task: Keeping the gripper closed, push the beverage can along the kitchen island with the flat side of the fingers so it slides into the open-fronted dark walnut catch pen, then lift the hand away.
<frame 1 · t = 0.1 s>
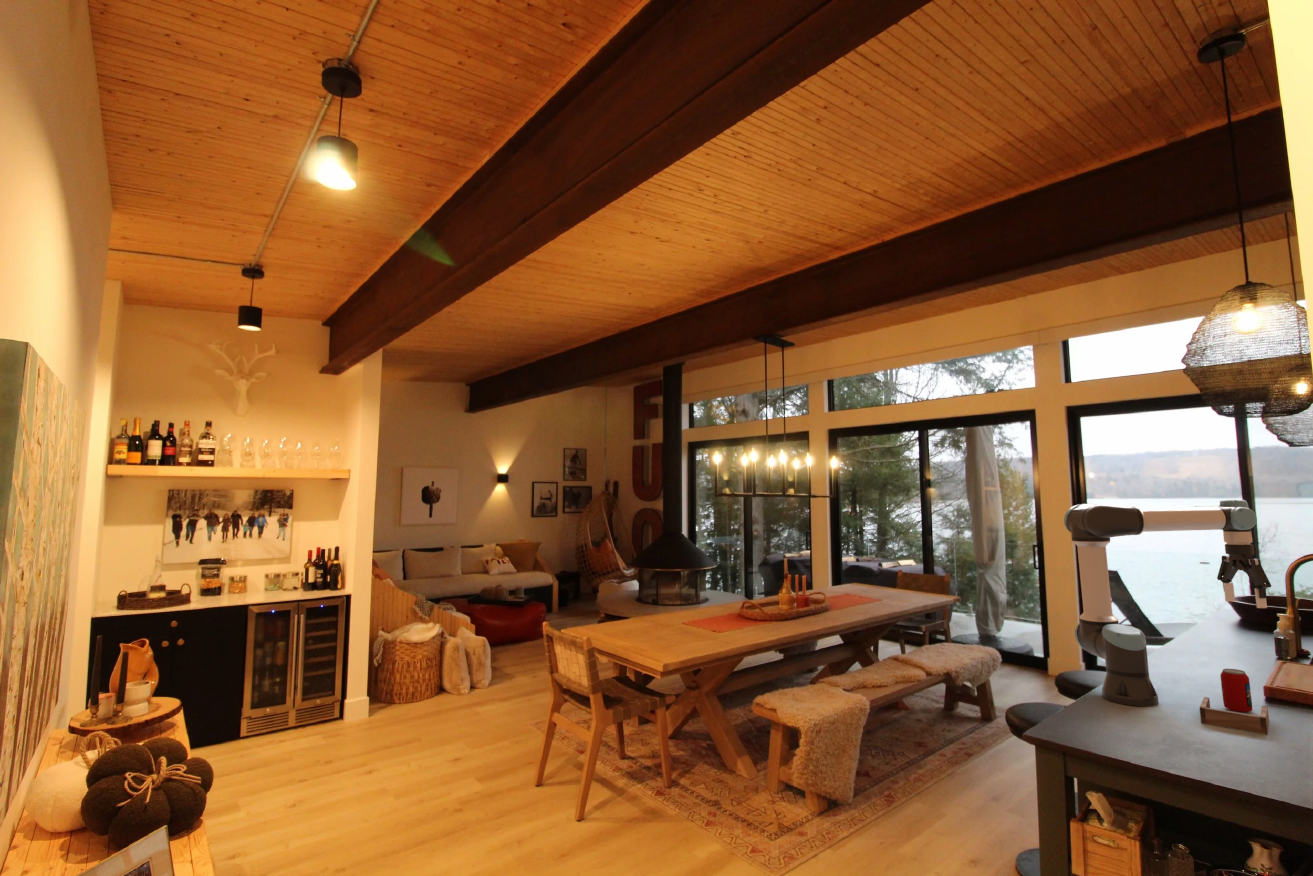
hand: (1245, 604, 225), 28 cm above the kitchen island, fingers open, 13 cm apart
walnut catch pen: (1235, 722, 191), on the kitchen island
beverage can: (1238, 711, 200), on the kitchen island
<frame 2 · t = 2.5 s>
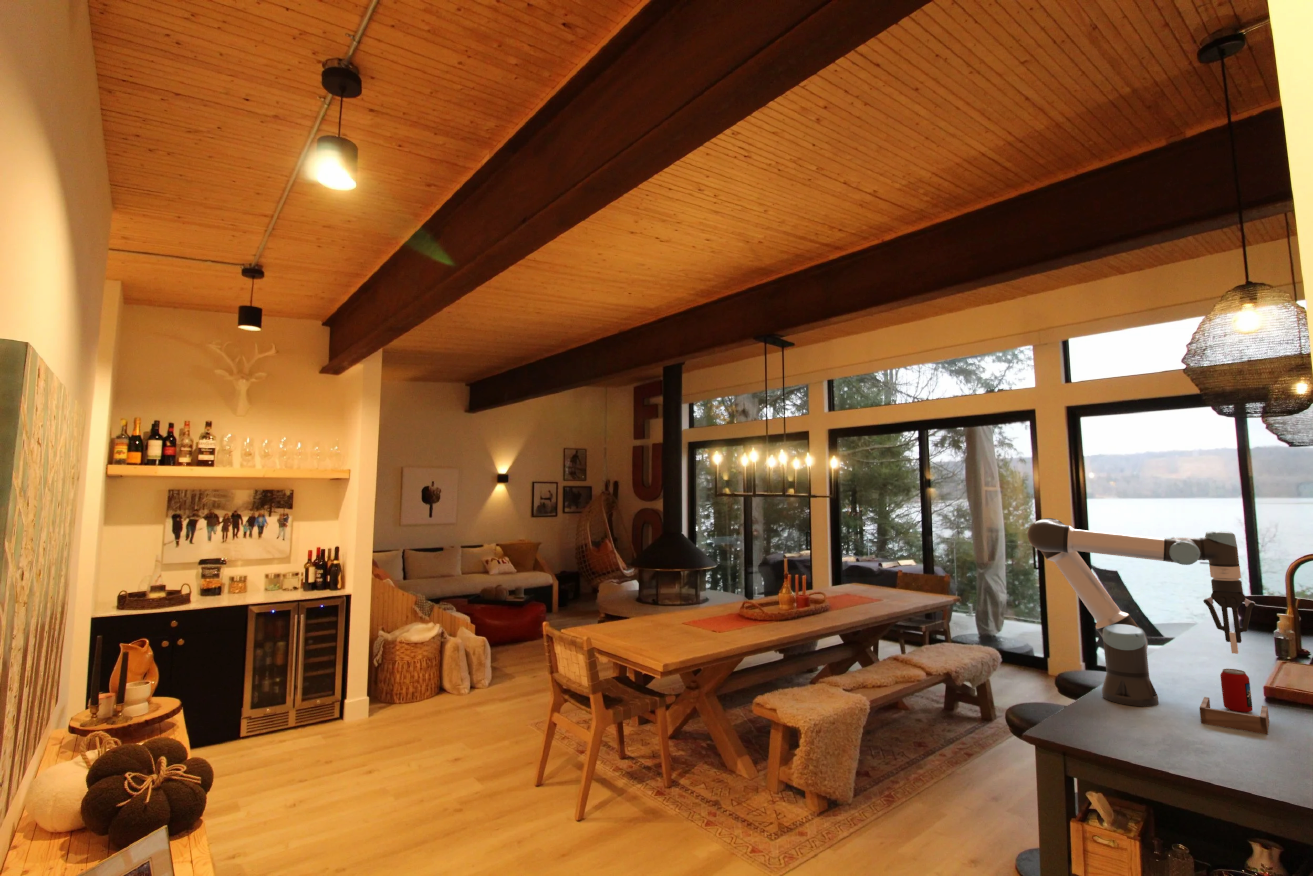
hand: (1235, 652, 208), 16 cm above the kitchen island, fingers closed
nothing on the kitchen island moved.
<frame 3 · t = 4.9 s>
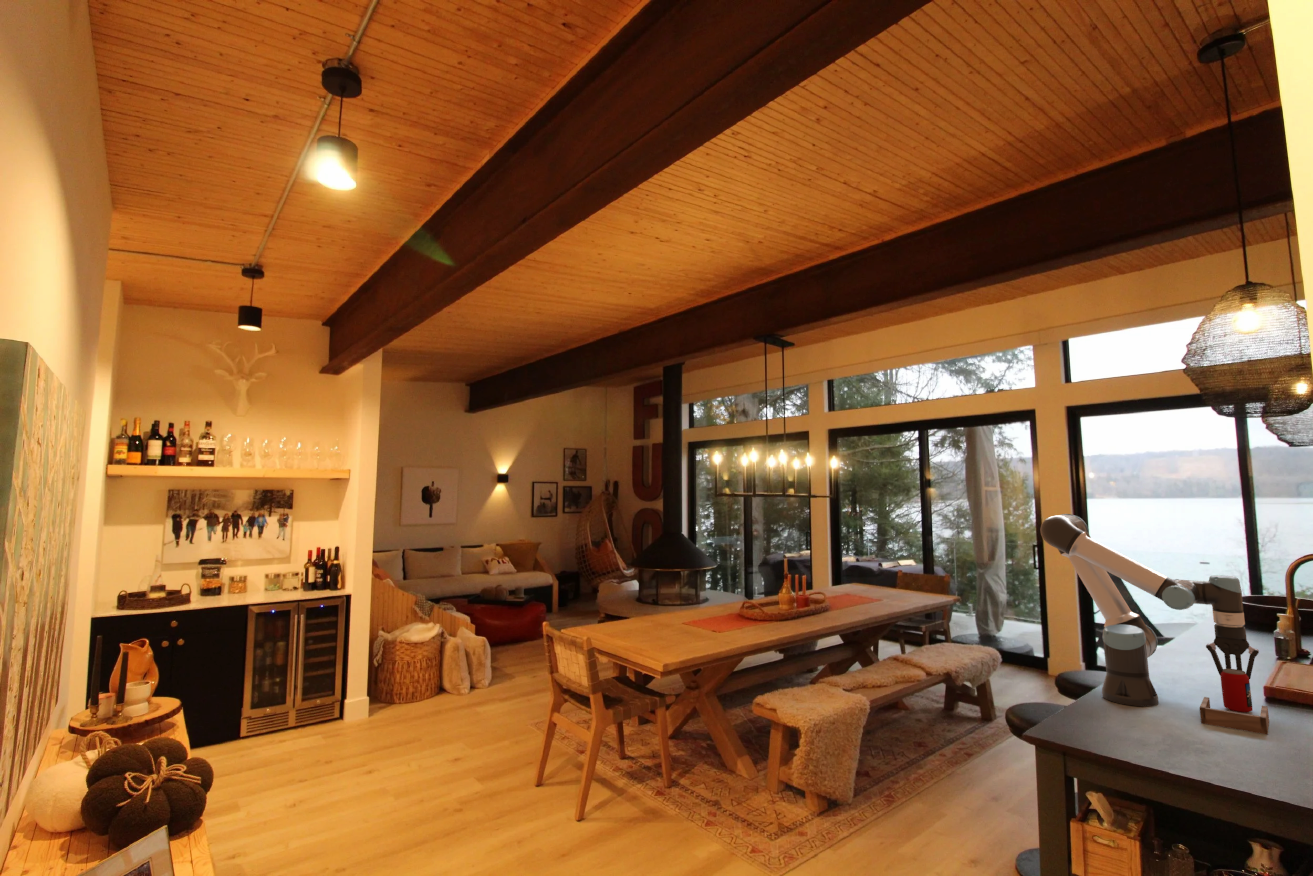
hand: (1237, 700, 204), 2 cm above the kitchen island, fingers closed
beverage can: (1238, 711, 200), on the kitchen island, touching gripper
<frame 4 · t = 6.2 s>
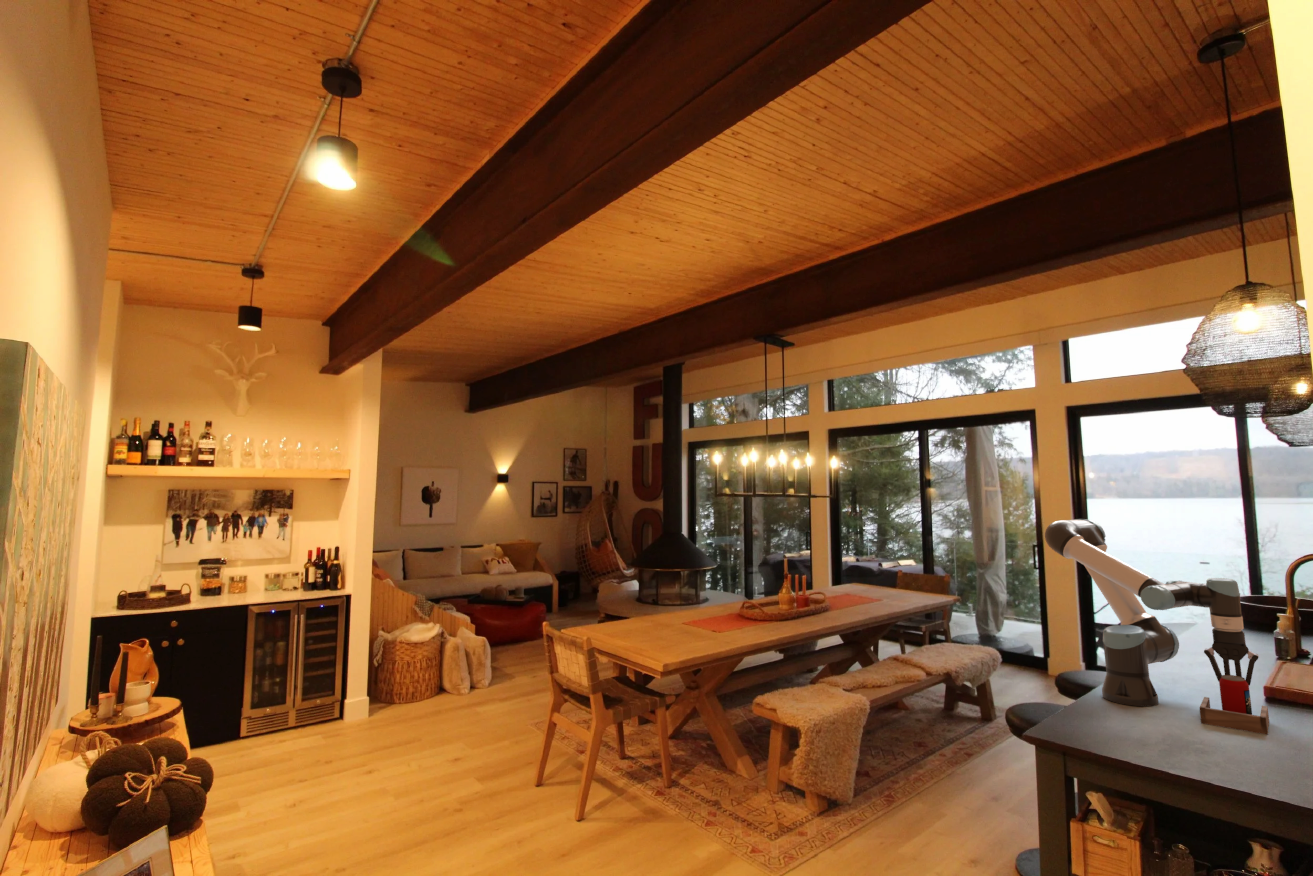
hand: (1237, 707, 197), 2 cm above the kitchen island, fingers closed
beverage can: (1237, 718, 194), on the kitchen island, touching gripper
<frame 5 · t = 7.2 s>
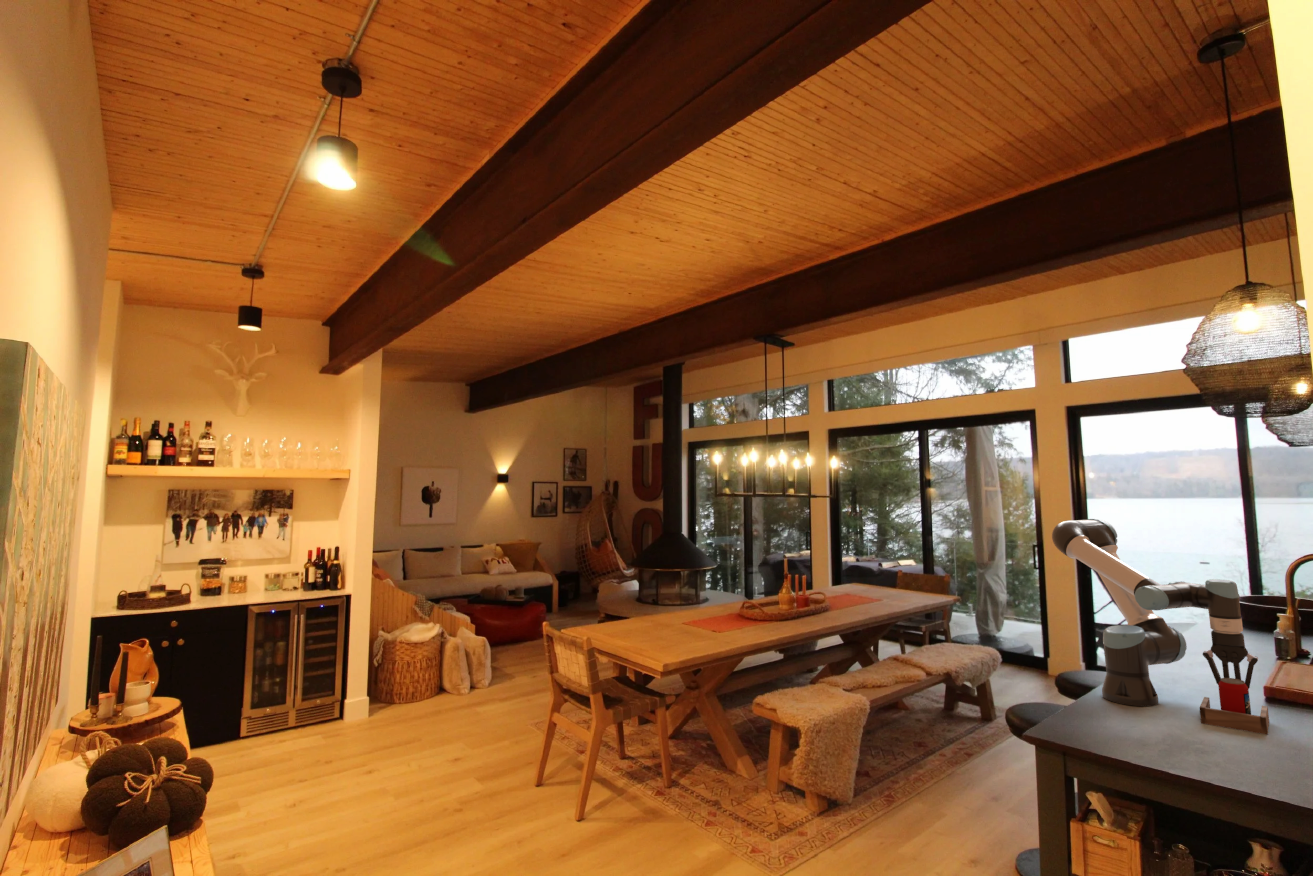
hand: (1236, 710, 195), 2 cm above the kitchen island, fingers closed
beverage can: (1237, 722, 191), on the kitchen island, touching gripper
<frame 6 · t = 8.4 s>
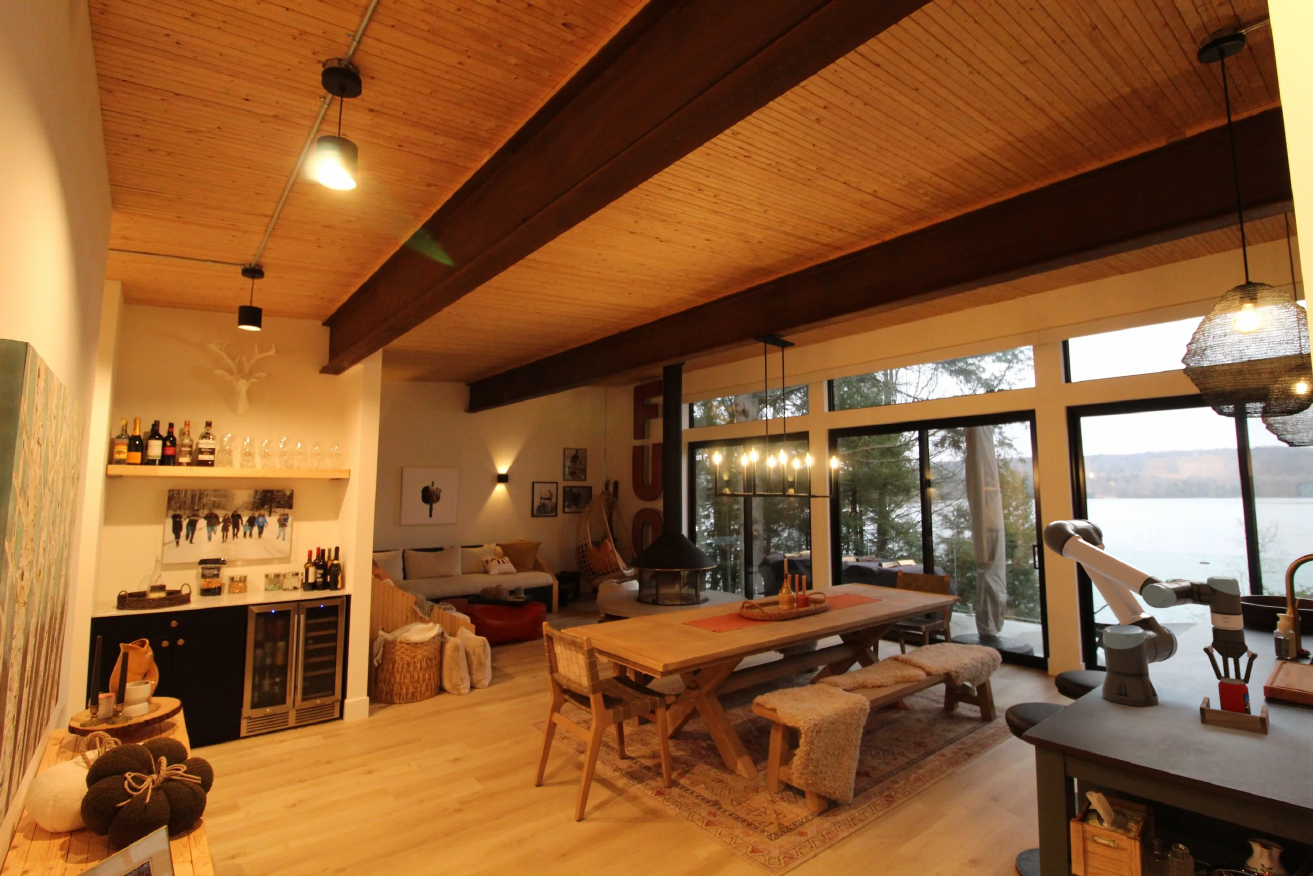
hand: (1235, 705, 198), 2 cm above the kitchen island, fingers closed
beverage can: (1237, 722, 191), on the kitchen island
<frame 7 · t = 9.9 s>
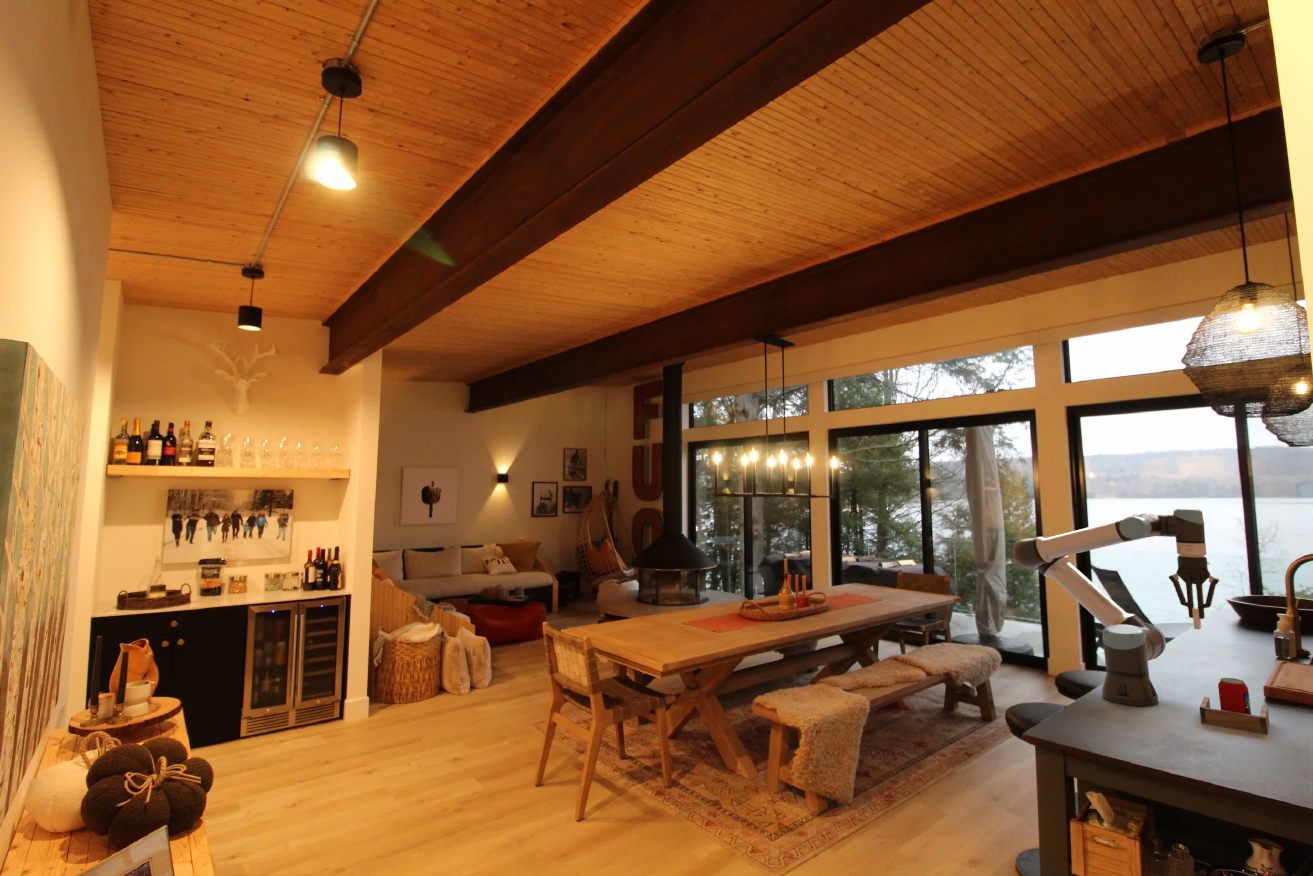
hand: (1197, 628, 210), 24 cm above the kitchen island, fingers closed
nothing on the kitchen island moved.
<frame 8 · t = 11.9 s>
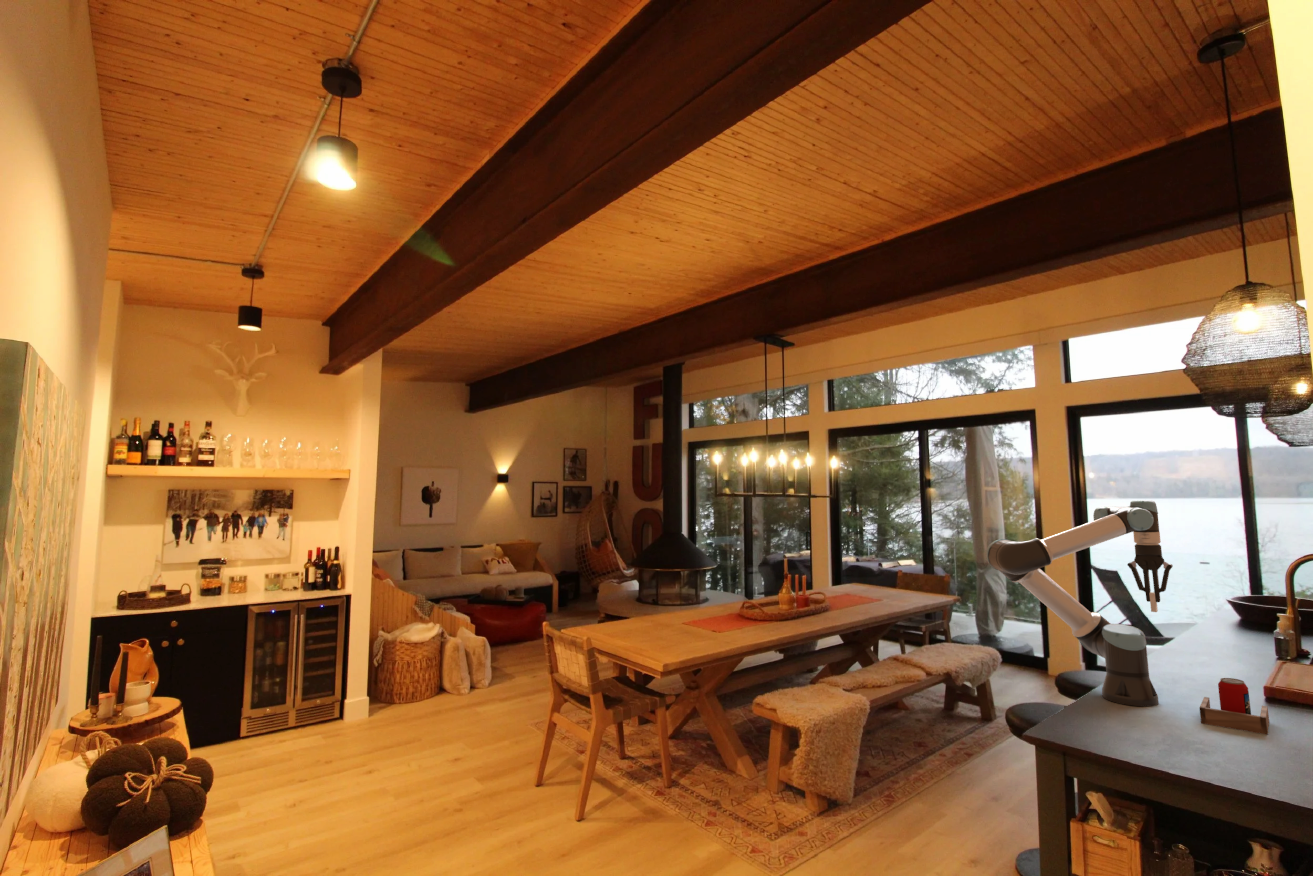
hand: (1154, 611, 226), 26 cm above the kitchen island, fingers closed
nothing on the kitchen island moved.
at the end: beverage can 0.7 cm from the walnut catch pen (horizontally); beverage can tilted 0° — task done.
